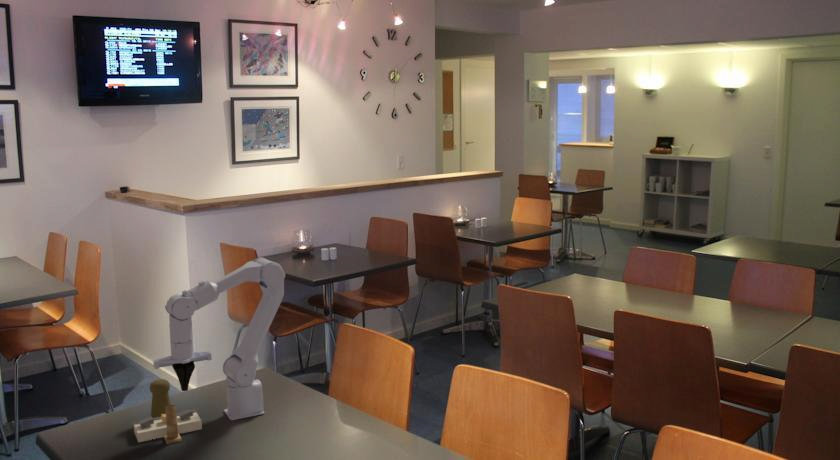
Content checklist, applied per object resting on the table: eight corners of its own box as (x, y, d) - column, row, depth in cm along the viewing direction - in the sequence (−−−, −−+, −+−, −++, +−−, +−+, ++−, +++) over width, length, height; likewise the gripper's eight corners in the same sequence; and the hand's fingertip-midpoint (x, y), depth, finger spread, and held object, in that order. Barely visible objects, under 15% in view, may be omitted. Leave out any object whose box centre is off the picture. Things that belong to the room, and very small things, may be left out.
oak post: (178, 435, 191) (176, 402, 190) (181, 441, 188) (179, 407, 187) (164, 438, 190) (162, 405, 188) (167, 444, 186) (164, 410, 185)
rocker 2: (173, 418, 196) (173, 414, 196) (175, 421, 194) (175, 417, 194) (160, 418, 194) (161, 414, 194) (162, 421, 192) (163, 417, 192)
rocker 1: (152, 420, 193) (151, 416, 193) (154, 423, 191) (152, 419, 191) (140, 424, 192) (138, 420, 192) (141, 428, 190) (140, 424, 190)
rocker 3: (191, 412, 198) (190, 408, 198) (193, 415, 196) (192, 411, 196) (179, 417, 197) (178, 413, 196) (181, 420, 195) (180, 416, 194)
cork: (166, 424, 199) (163, 385, 197) (146, 422, 200) (143, 384, 198) (177, 415, 205) (175, 377, 203) (158, 413, 206) (155, 376, 204)
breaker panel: (196, 419, 201) (195, 409, 201) (201, 429, 195) (201, 418, 195) (134, 432, 194) (133, 422, 193) (138, 442, 188) (137, 431, 187)
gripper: (155, 348, 186) (158, 399, 188) (213, 340, 193) (215, 389, 195) (150, 341, 192) (153, 391, 194) (207, 333, 199) (209, 381, 201)
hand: (184, 389), depth 195 cm, fingers closed
